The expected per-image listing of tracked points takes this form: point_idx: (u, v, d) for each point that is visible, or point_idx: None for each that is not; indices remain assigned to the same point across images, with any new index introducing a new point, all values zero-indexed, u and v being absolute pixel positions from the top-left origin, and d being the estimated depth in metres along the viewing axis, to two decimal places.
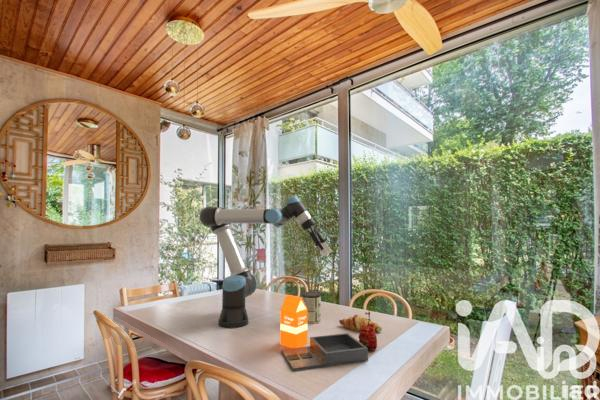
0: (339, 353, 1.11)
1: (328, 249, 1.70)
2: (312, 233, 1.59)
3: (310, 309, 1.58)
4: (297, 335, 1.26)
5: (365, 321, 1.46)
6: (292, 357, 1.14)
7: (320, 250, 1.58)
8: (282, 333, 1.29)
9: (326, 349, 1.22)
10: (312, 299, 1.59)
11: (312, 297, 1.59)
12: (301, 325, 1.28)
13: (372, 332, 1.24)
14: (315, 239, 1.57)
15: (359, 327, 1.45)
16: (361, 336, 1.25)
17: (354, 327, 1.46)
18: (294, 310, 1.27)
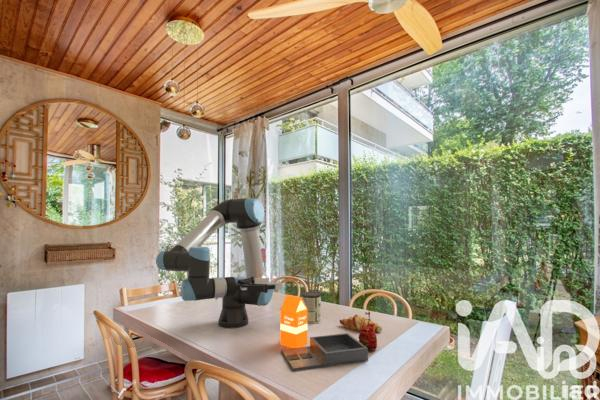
0: (339, 353, 1.11)
1: None
2: None
3: (310, 309, 1.58)
4: (297, 335, 1.26)
5: (365, 321, 1.47)
6: (292, 357, 1.14)
7: (260, 278, 1.33)
8: (282, 333, 1.29)
9: (326, 349, 1.22)
10: (312, 299, 1.59)
11: (312, 297, 1.59)
12: (301, 325, 1.28)
13: (372, 332, 1.24)
14: None
15: (359, 327, 1.45)
16: (361, 336, 1.25)
17: (354, 327, 1.46)
18: (294, 310, 1.27)
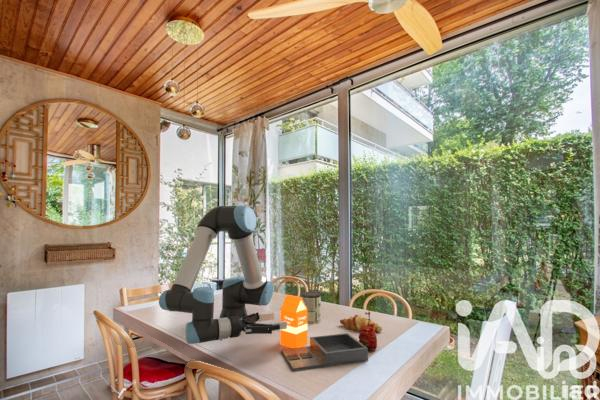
0: (339, 353, 1.11)
1: None
2: None
3: (310, 309, 1.58)
4: (297, 335, 1.26)
5: (365, 321, 1.47)
6: (292, 357, 1.14)
7: None
8: (282, 333, 1.29)
9: (326, 349, 1.22)
10: (312, 299, 1.59)
11: (312, 297, 1.59)
12: (301, 325, 1.28)
13: (372, 332, 1.24)
14: None
15: (359, 327, 1.45)
16: (361, 336, 1.25)
17: (354, 327, 1.46)
18: (294, 310, 1.27)
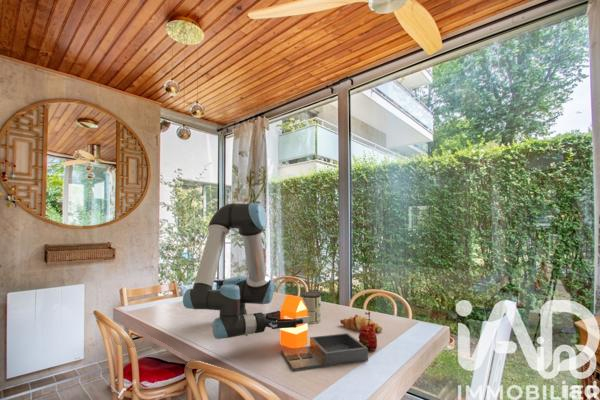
0: (339, 353, 1.11)
1: None
2: None
3: (310, 309, 1.58)
4: (297, 335, 1.26)
5: (365, 321, 1.47)
6: (292, 357, 1.14)
7: None
8: (282, 333, 1.29)
9: (326, 349, 1.22)
10: (312, 299, 1.59)
11: (312, 297, 1.59)
12: (301, 325, 1.28)
13: (372, 332, 1.24)
14: None
15: (359, 327, 1.45)
16: (361, 336, 1.25)
17: (354, 327, 1.46)
18: (294, 310, 1.27)
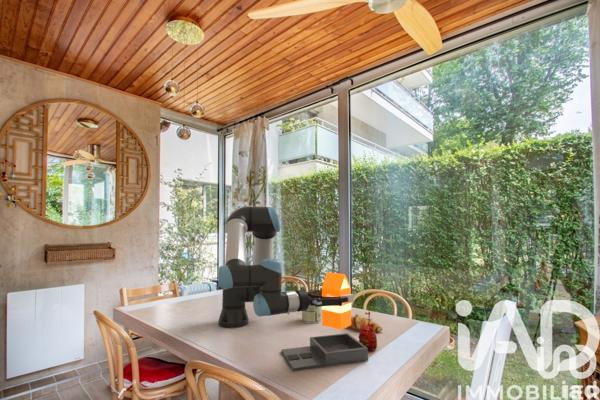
0: (339, 353, 1.11)
1: None
2: None
3: (310, 309, 1.58)
4: (342, 314, 1.16)
5: (366, 321, 1.47)
6: (292, 357, 1.14)
7: None
8: (324, 313, 1.20)
9: (326, 349, 1.22)
10: None
11: None
12: (345, 303, 1.18)
13: (372, 332, 1.24)
14: None
15: (359, 327, 1.45)
16: (361, 336, 1.25)
17: (354, 327, 1.47)
18: (338, 287, 1.17)
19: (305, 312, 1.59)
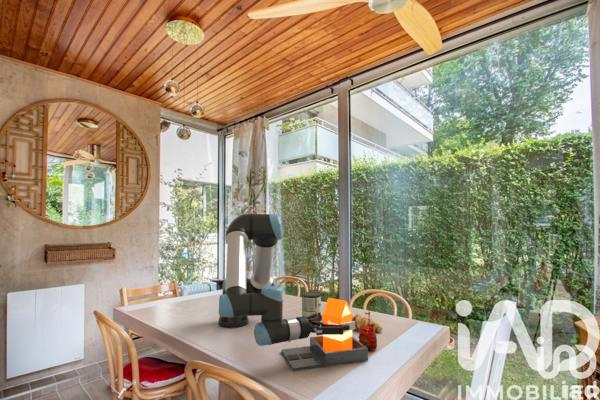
0: (339, 353, 1.11)
1: None
2: None
3: (310, 309, 1.58)
4: (343, 342, 1.15)
5: (366, 321, 1.47)
6: (292, 357, 1.14)
7: None
8: (325, 340, 1.19)
9: None
10: (312, 299, 1.59)
11: (312, 297, 1.59)
12: (346, 331, 1.17)
13: (372, 332, 1.24)
14: None
15: (359, 327, 1.45)
16: (361, 336, 1.25)
17: None
18: (339, 315, 1.16)
19: (305, 312, 1.59)
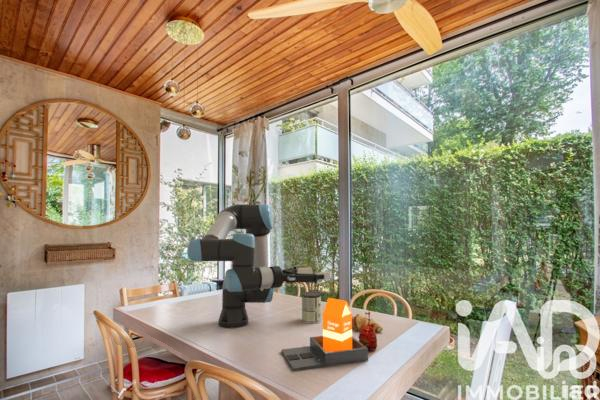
0: (339, 353, 1.11)
1: None
2: None
3: (310, 309, 1.58)
4: (343, 342, 1.15)
5: (366, 321, 1.47)
6: (292, 357, 1.14)
7: (303, 268, 1.24)
8: (325, 340, 1.19)
9: None
10: (312, 299, 1.59)
11: (312, 297, 1.59)
12: (346, 331, 1.17)
13: (372, 332, 1.24)
14: None
15: (359, 326, 1.46)
16: (361, 336, 1.25)
17: (355, 326, 1.47)
18: (339, 315, 1.16)
19: (305, 312, 1.59)
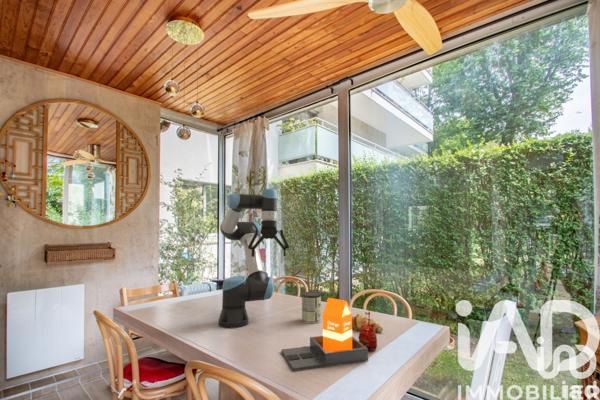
0: (339, 353, 1.11)
1: (281, 259, 1.52)
2: (253, 236, 1.49)
3: (310, 309, 1.58)
4: (343, 342, 1.15)
5: (366, 321, 1.47)
6: (292, 357, 1.14)
7: None
8: (325, 340, 1.19)
9: None
10: (312, 299, 1.59)
11: (312, 297, 1.59)
12: (346, 331, 1.17)
13: (372, 332, 1.24)
14: (249, 243, 1.49)
15: (360, 326, 1.46)
16: (361, 336, 1.25)
17: (355, 326, 1.47)
18: (339, 315, 1.16)
19: (305, 312, 1.59)
